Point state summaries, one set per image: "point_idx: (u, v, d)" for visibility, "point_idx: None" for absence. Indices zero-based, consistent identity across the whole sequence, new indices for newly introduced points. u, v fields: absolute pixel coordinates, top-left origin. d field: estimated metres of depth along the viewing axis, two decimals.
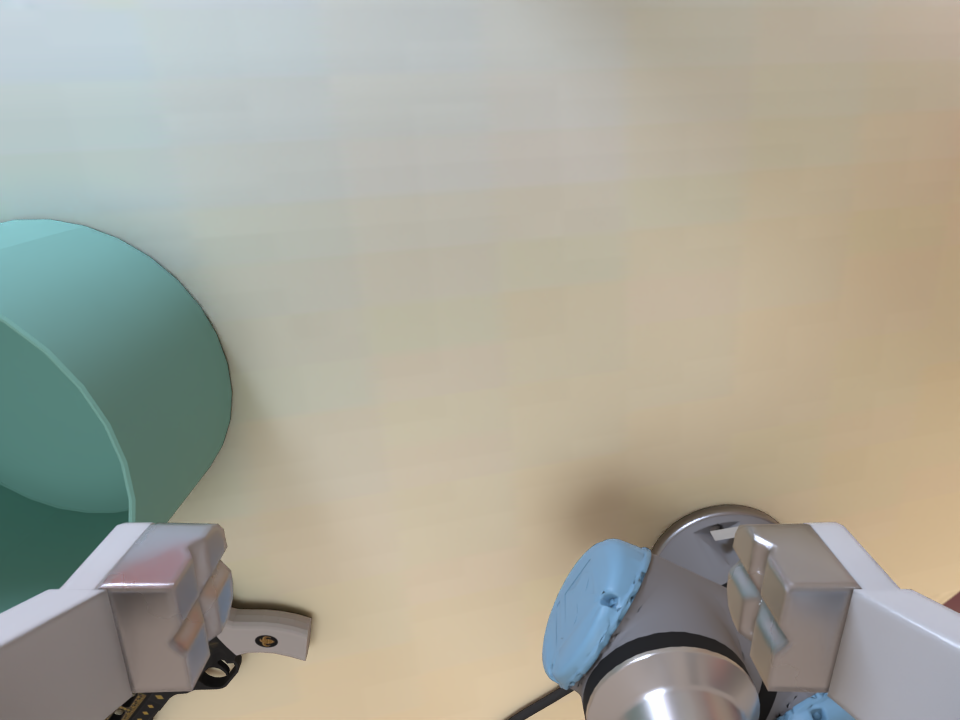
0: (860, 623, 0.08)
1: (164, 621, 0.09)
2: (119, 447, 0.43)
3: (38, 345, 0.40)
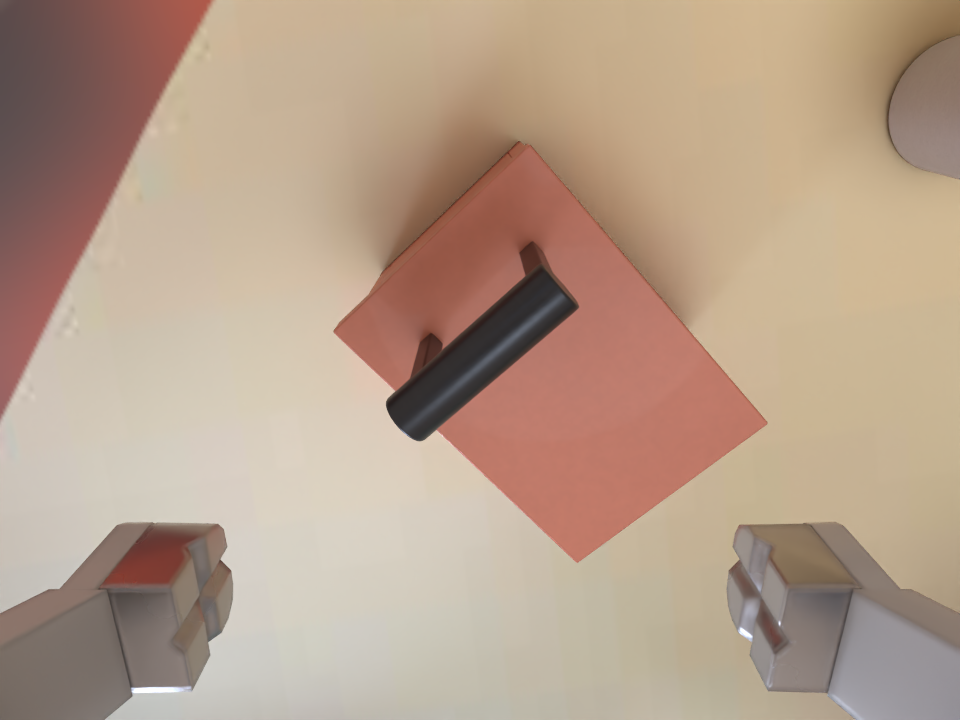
0: (860, 623, 0.08)
1: (164, 621, 0.09)
2: None
3: None
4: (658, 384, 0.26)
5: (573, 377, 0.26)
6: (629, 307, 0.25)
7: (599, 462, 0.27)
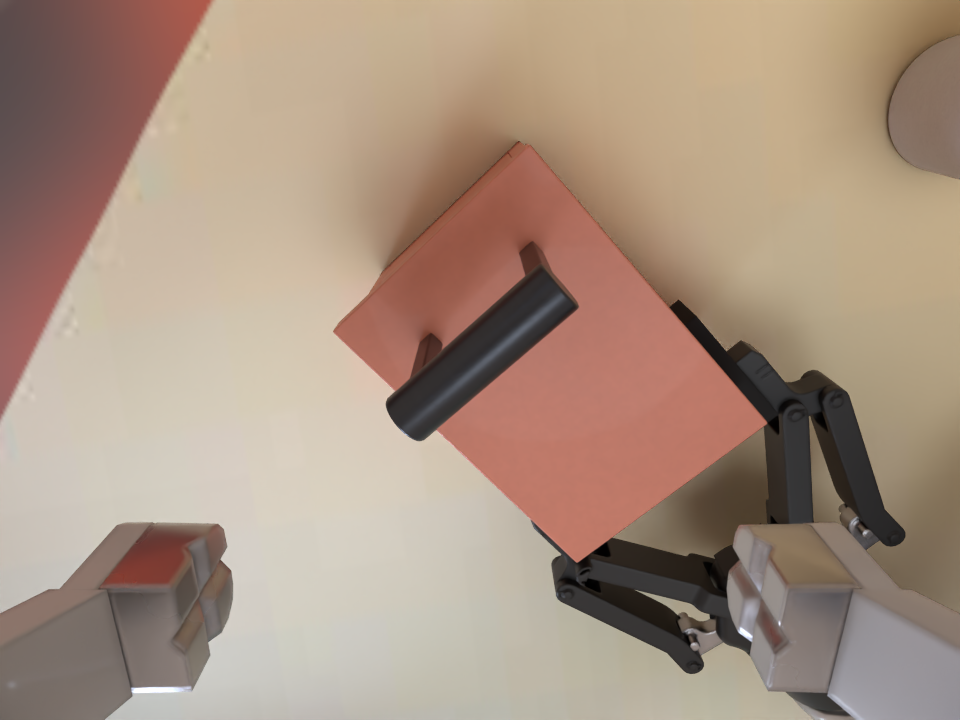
0: (860, 623, 0.08)
1: (164, 621, 0.09)
2: None
3: None
4: (658, 384, 0.26)
5: (573, 377, 0.26)
6: (629, 306, 0.25)
7: (599, 462, 0.27)
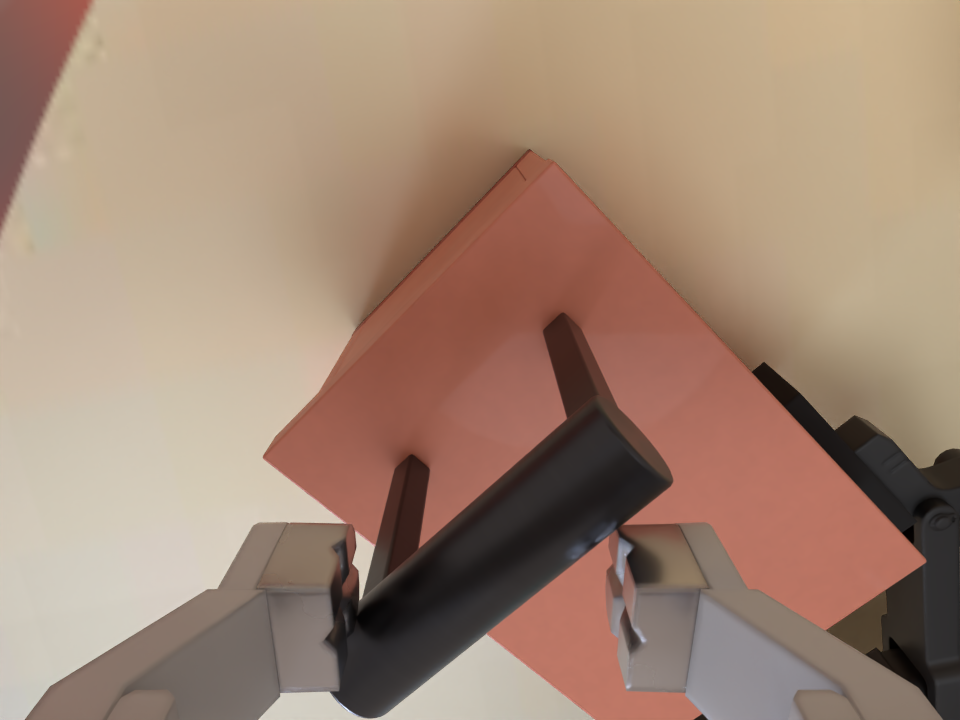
0: (707, 623, 0.08)
1: (318, 621, 0.09)
2: None
3: None
4: (761, 513, 0.17)
5: None
6: (717, 404, 0.16)
7: None
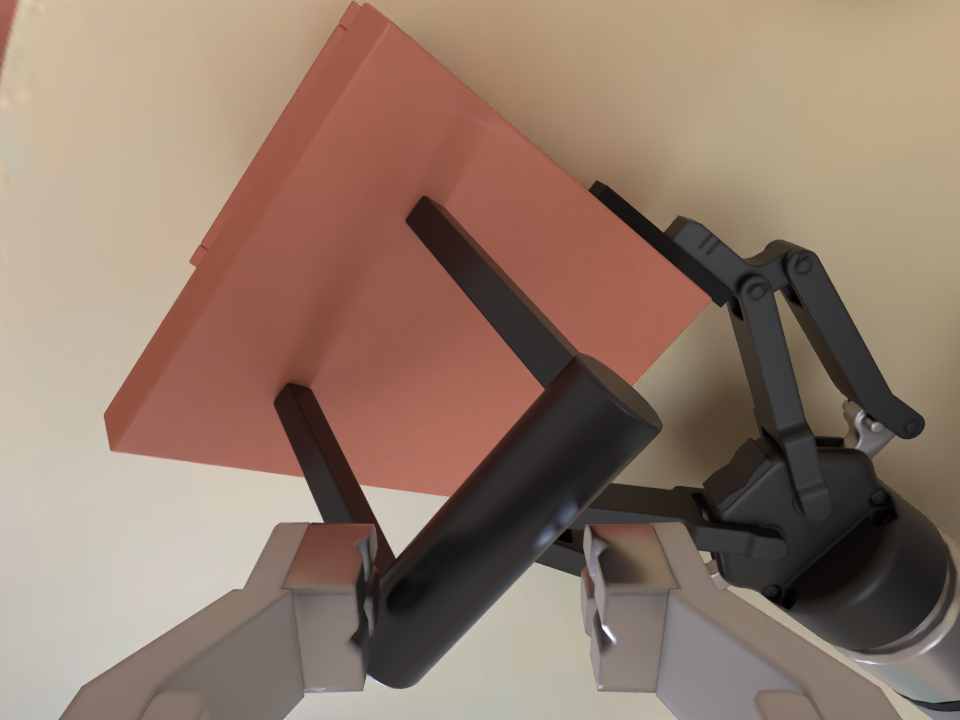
0: (675, 623, 0.08)
1: (343, 621, 0.09)
2: None
3: None
4: (603, 310, 0.19)
5: (502, 347, 0.18)
6: (570, 236, 0.16)
7: None
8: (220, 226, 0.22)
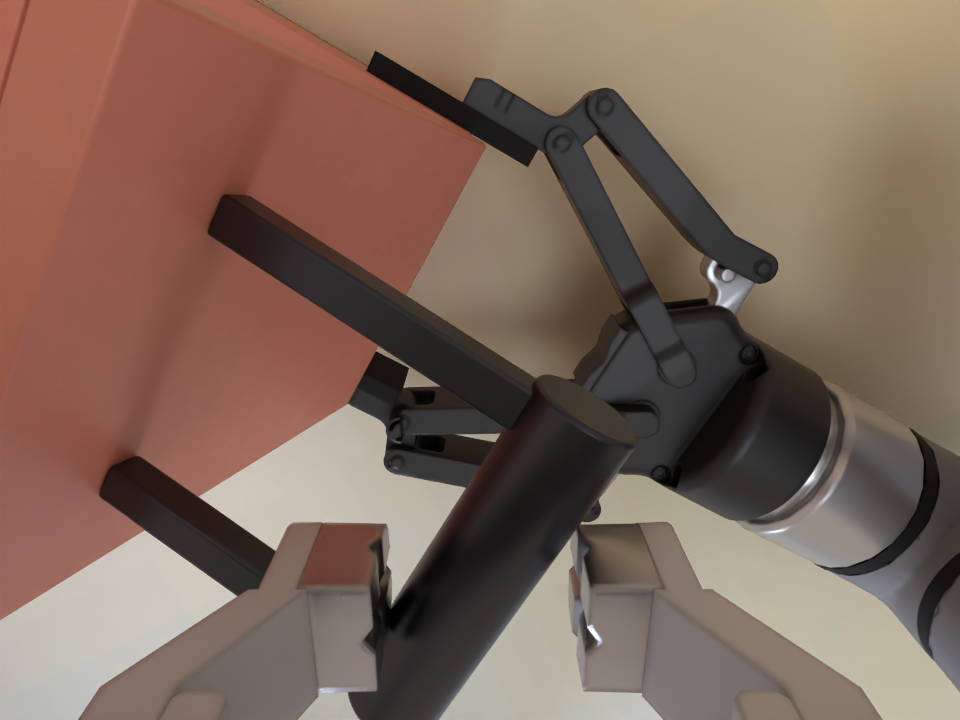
0: (660, 623, 0.08)
1: (358, 621, 0.09)
2: None
3: None
4: (404, 206, 0.17)
5: None
6: (373, 154, 0.13)
7: None
8: None
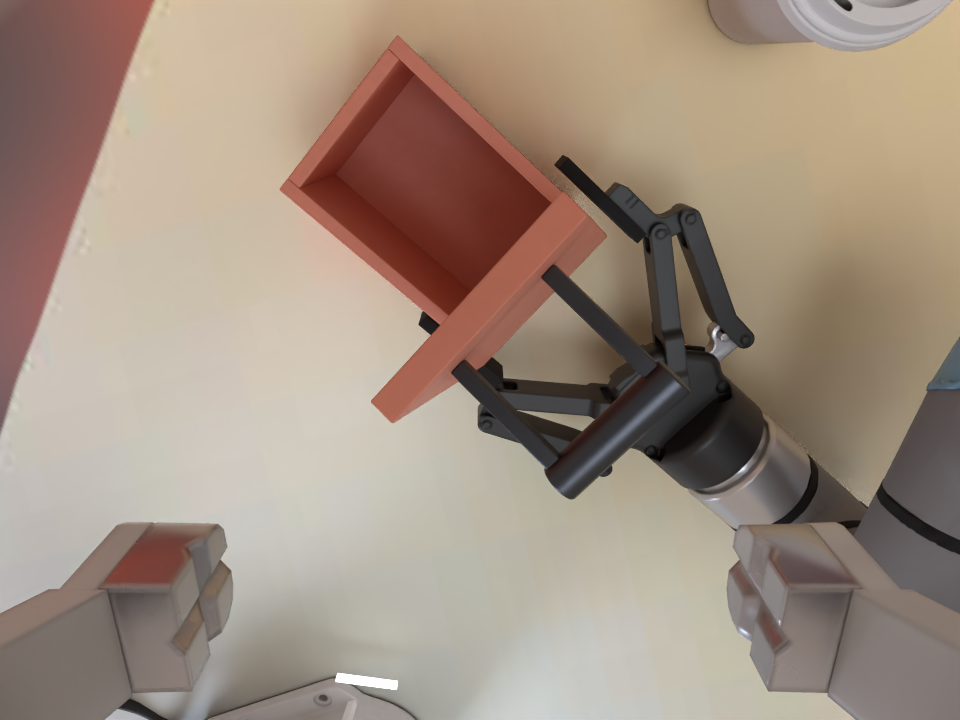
0: (860, 623, 0.08)
1: (164, 621, 0.09)
2: None
3: None
4: (571, 266, 0.32)
5: (530, 302, 0.30)
6: (582, 246, 0.28)
7: (519, 322, 0.34)
8: (302, 167, 0.35)
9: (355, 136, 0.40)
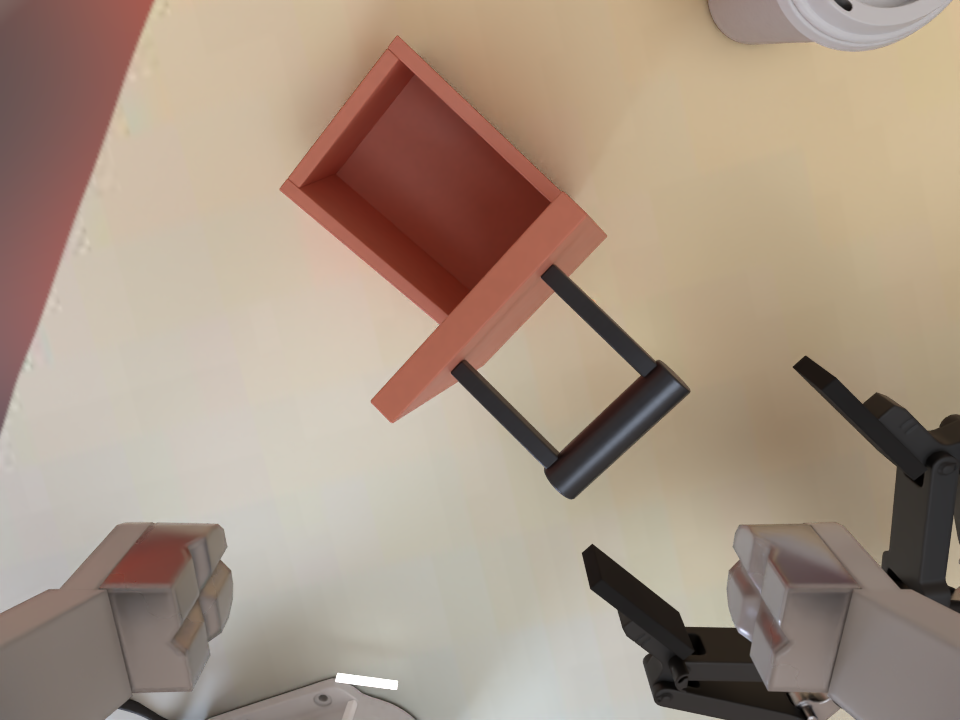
0: (860, 623, 0.08)
1: (164, 621, 0.09)
2: None
3: None
4: (570, 266, 0.32)
5: (530, 302, 0.30)
6: (581, 246, 0.28)
7: (519, 322, 0.34)
8: (302, 167, 0.35)
9: (355, 136, 0.40)
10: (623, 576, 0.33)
